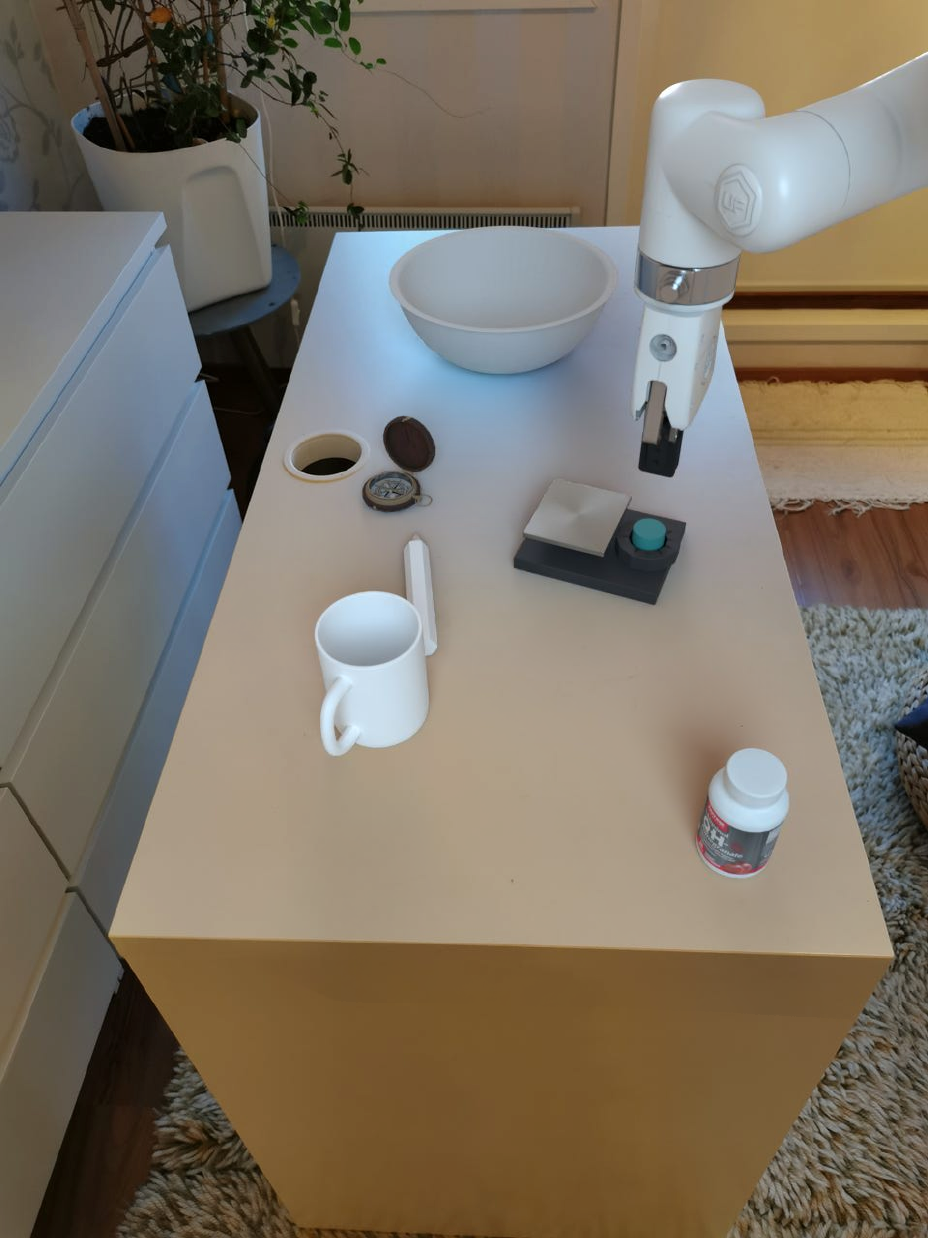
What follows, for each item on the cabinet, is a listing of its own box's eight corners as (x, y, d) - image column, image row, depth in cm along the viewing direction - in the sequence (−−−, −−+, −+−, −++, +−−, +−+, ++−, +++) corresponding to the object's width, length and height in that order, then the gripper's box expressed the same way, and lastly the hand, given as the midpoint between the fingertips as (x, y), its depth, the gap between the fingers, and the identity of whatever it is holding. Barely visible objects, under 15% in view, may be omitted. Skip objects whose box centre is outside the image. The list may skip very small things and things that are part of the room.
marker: (417, 543, 96) (428, 659, 85) (398, 537, 95) (406, 653, 84) (429, 525, 95) (441, 640, 83) (410, 518, 94) (420, 634, 82)
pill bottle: (682, 858, 70) (702, 781, 63) (712, 805, 73) (733, 726, 66) (753, 894, 67) (782, 819, 60) (780, 838, 70) (810, 760, 63)
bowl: (623, 407, 111) (631, 328, 103) (389, 413, 111) (381, 335, 104) (600, 295, 130) (605, 222, 123) (401, 301, 130) (394, 228, 123)
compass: (351, 503, 100) (342, 446, 95) (392, 463, 104) (386, 406, 99) (415, 527, 97) (410, 469, 92) (455, 484, 101) (452, 427, 96)
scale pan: (631, 500, 93) (632, 495, 93) (603, 557, 88) (604, 552, 87) (554, 482, 96) (554, 477, 95) (522, 537, 90) (522, 532, 90)
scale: (689, 534, 95) (693, 510, 93) (659, 606, 88) (663, 583, 86) (551, 501, 99) (552, 478, 97) (513, 568, 92) (513, 544, 90)
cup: (446, 691, 81) (440, 607, 74) (380, 800, 74) (366, 719, 67) (362, 663, 84) (348, 579, 77) (289, 765, 77) (266, 683, 69)
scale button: (667, 535, 91) (669, 522, 90) (659, 554, 89) (661, 542, 88) (637, 527, 92) (638, 515, 90) (628, 546, 90) (629, 534, 89)
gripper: (712, 325, 65) (678, 530, 78) (756, 235, 75) (719, 431, 88) (607, 307, 67) (590, 509, 81) (663, 222, 77) (640, 415, 90)
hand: (657, 468), depth 84 cm, fingers closed
